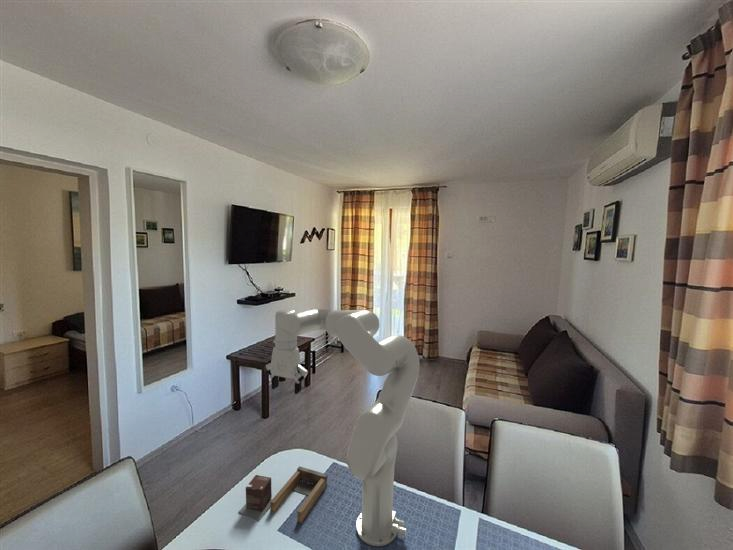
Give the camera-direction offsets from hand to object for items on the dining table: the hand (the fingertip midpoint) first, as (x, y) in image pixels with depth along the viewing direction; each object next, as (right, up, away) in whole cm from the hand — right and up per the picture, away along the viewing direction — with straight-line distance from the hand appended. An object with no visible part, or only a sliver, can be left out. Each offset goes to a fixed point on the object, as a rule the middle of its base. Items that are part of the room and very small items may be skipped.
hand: (286, 390), depth 113 cm
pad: (-7, -34, -11) cm, 37 cm away
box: (-6, -34, -10) cm, 36 cm away
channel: (+7, -34, -7) cm, 35 cm away
